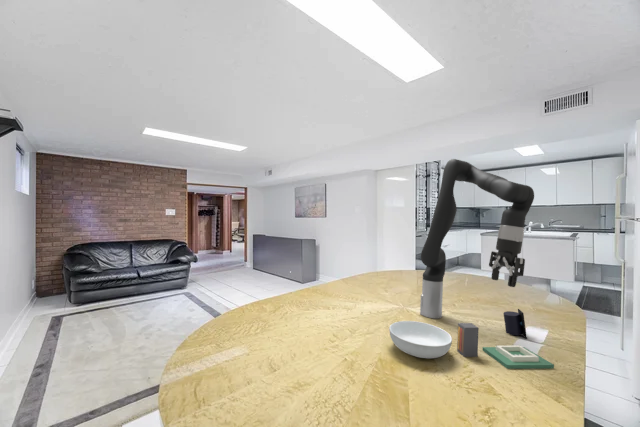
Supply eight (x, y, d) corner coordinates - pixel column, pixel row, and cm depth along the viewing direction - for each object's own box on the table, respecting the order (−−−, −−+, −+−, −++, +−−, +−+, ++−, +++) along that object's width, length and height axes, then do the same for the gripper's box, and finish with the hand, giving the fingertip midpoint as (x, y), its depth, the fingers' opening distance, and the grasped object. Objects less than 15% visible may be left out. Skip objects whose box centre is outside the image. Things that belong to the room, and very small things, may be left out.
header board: (507, 368, 89) (507, 360, 89) (482, 350, 101) (482, 342, 101) (553, 368, 90) (554, 360, 90) (524, 350, 102) (524, 342, 102)
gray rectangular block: (463, 356, 96) (464, 327, 96) (456, 351, 100) (457, 323, 100) (477, 356, 96) (478, 327, 96) (470, 351, 100) (471, 323, 100)
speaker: (527, 334, 116) (525, 309, 117) (527, 339, 112) (524, 313, 112) (506, 330, 121) (503, 306, 122) (504, 335, 117) (502, 310, 117)
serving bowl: (425, 373, 85) (425, 351, 85) (376, 345, 102) (377, 326, 102) (464, 357, 96) (465, 337, 96) (414, 334, 113) (415, 317, 113)
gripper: (487, 235, 107) (480, 276, 108) (514, 239, 93) (506, 287, 93) (505, 238, 108) (498, 279, 108) (536, 242, 94) (528, 290, 94)
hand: (502, 283), depth 101 cm, fingers open, 8 cm apart
